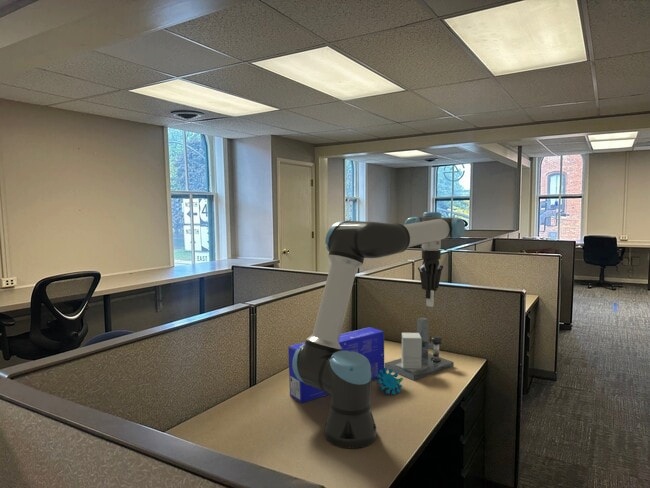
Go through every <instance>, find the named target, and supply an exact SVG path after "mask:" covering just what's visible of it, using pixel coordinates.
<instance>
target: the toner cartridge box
mask: <svg viewBox="0 0 650 488" xmlns="http://www.w3.org/2000/svg"><path fill="white" fill-rule="evenodd" d="M338 342H339V344H340V346H341V348H342V349H341V351H349V352H351V351H353V352H357V353H360V354H362V355H363V356H365V357H366V358H367V359H368V360H369V362H370V367H371V375H372V376H371V381H373V380H376V379H378V378H377V375H378V374H380V373H379V371H380V370H383V369H384V368H385V332H384V331H383V330H381V329H378V328H374V327H371V326H369V327H364V328H361V329H357V330H352V331H348V332H344V333H343V332H342V333H340V337H339V341H338ZM304 344H305V342H301V343H296V344H293V345H289V346H288V348H287V350H288V371H289V372H288V373H289V396H290V397H291V398H293V399H295V400H296V401H298V402H299V403H301V404H304V403H307V402H310V401H312V400H317V399H319V398H322V397H325V396H328V395H329V394H328V393H326V392H324V391H321V390H319V389H317V388H314V387H312V386H308V385H306V384H305V383H303V382H302V381H300V380H299V379H298V378H297V377H296V376H295V373H294V371H293V365H292V363H293V357H294V354H295V352H296V350H298V349H299V347H300V346H302V345H304ZM383 374H384V370H383ZM380 375H381V374H380ZM381 377H382V375H381Z"/></svg>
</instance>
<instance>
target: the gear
mask: <svg viewBox="0 0 650 488" xmlns="http://www.w3.org/2000/svg"><path fill="white" fill-rule="evenodd" d="M383 370H384V374H383ZM383 370H380V371H379V373H380V374H381V375H382V377H381V375H380V374H378V375H377V379H378V380H377V385H381V386H380V390H381V391H383V390H384V389H386V391H385V394H387V395H389V394H391V395H393V396H395V395H396V394H399V393H400V392H401V390H400V389H402V387H403V385H402V384H401V382H403V380H404V377H403V376H402V377H400V378H397V377H398V376H399V374H398V373H395V372H393V370H392V369H390V370H388V369H387V368H385V367H384V369H383ZM387 371H388V372H387ZM392 373H394V374H392ZM391 390H392V391H391Z"/></svg>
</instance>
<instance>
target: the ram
mask: <svg viewBox="0 0 650 488" xmlns="http://www.w3.org/2000/svg"><path fill="white" fill-rule="evenodd" d="M429 338H430V340H429V343H431V344H433V349H432V350H433V351H432V355H433V356H434V357H440V344H443V340H444V339H443V336H441V335H431V336H430V337H429Z"/></svg>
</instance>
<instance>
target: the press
mask: <svg viewBox="0 0 650 488" xmlns="http://www.w3.org/2000/svg"><path fill="white" fill-rule="evenodd" d="M429 319H430V318H427V317H420V318H419V317H418V318H417V319H416V333H419V334H420V336H421V338H422V353H421V369H409V368H403V365H402V361H401V358H402V357H400V358H397V359H394V360H391V361H387V362H384V368H387V369H388V370H387V371H389V370H390V369H392V370H393V372H392V373H394V374H395V373H397V374H398V375H400V376H402V377H403V378H404V377H405V378H406V379H408V380H412V381H417V380H420V379H422V378H425V377H428V376H431V375H434V374H437V373H440V372H442V371H446V370H449V369H451V368H453V367H455V365H454V361H452V360H448V359H447V358H444V357H441V356H439V357H434V356H433V353H429V350H433V343H431V342H429V331H430V330H429V326H430V323H429V322H430V320H429Z"/></svg>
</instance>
